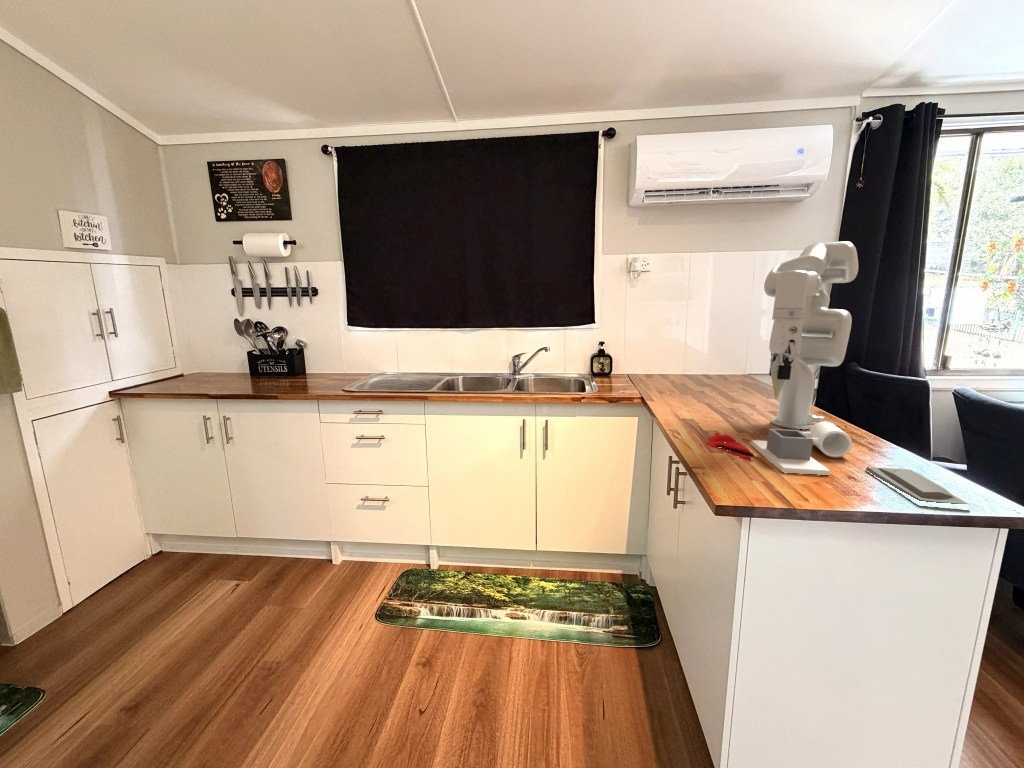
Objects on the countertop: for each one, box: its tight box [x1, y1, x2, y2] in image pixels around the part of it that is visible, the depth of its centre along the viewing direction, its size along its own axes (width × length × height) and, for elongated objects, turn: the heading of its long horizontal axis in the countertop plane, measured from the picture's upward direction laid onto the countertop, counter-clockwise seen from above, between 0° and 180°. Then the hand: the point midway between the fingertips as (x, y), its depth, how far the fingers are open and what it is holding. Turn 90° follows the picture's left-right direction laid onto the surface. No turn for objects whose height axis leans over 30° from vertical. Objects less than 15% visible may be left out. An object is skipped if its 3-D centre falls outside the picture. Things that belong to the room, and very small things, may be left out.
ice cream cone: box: [769, 354, 786, 399], centre depth 130 cm, size 5×5×15 cm
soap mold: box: [865, 466, 969, 504], centre depth 106 cm, size 10×20×4 cm, turn 169°
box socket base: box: [750, 428, 831, 476], centre depth 124 cm, size 11×22×8 cm, turn 172°
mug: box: [802, 421, 853, 458], centre depth 131 cm, size 12×10×8 cm
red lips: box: [705, 432, 756, 462], centre depth 136 cm, size 26×14×2 cm, turn 163°
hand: (779, 376), depth 130 cm, fingers closed on ice cream cone, 5 cm apart
